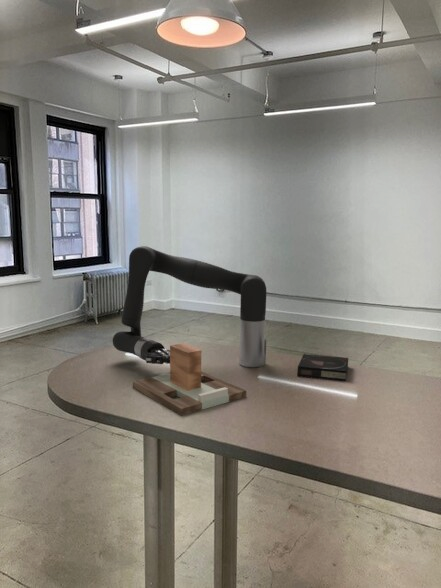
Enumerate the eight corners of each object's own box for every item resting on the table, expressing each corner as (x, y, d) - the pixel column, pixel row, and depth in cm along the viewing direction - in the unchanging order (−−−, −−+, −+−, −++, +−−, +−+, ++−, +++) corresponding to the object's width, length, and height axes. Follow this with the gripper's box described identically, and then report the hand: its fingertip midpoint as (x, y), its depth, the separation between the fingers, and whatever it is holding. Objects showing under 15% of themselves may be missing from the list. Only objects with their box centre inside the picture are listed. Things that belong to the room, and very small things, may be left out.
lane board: (193, 373, 173) (193, 362, 172) (246, 396, 151) (246, 384, 150) (132, 387, 158) (132, 375, 157) (181, 415, 136) (181, 401, 136)
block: (183, 378, 161) (183, 343, 159) (201, 387, 153) (201, 350, 151) (170, 381, 157) (170, 345, 156) (187, 390, 150) (188, 352, 148)
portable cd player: (297, 377, 171) (297, 366, 170) (303, 363, 187) (303, 353, 187) (345, 383, 166) (346, 371, 166) (347, 368, 183) (348, 357, 182)
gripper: (132, 342, 167) (159, 354, 153) (165, 337, 175) (193, 347, 162) (132, 364, 168) (159, 377, 155) (165, 357, 176) (193, 369, 163)
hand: (176, 362), depth 158 cm, fingers closed
